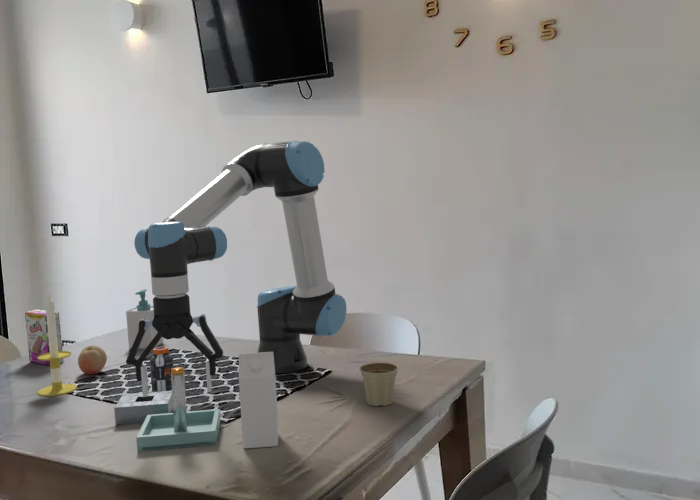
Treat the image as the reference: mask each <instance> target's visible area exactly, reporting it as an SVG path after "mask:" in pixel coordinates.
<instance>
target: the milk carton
mask: <svg viewBox="0 0 700 500" xmlns="http://www.w3.org/2000/svg"><path fill="white" fill-rule="evenodd" d="M276 383H277V382H276V374H275V364H274V354H273V352H261V353H257V352H248V353H245V352H244V353H239V354H238V387H239V388H238V389H239V402H240V418H241V420H240V422H241V433H242V435H241V437H242V447H243V449H254V448H255V449H256V448H267V447H268V448H270V447H278V446H279V433H280V432H279V417H278V415H279V413H278V402H277V401H278V398H277V397H278V396H277V384H276Z"/></svg>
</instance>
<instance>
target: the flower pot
mask: <svg viewBox="0 0 700 500" xmlns="http://www.w3.org/2000/svg"><path fill="white" fill-rule="evenodd" d="M399 368H400V367H399V365H397V364H395V363H390V362H371V363H365V364H363V365H361V366H360V367H358V369H359V371H360V372H361V376H362V379H363V384H364V385H363V386H364V390H365V397H366V402H367V405H370V406H374V407H379V406H383V407H385V406H389V405H392V404H393V402H394V395H395V394H394V393H395V385H396V376H397V374H398V371H399V370H400V369H399Z"/></svg>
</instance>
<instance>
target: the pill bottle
mask: <svg viewBox="0 0 700 500" xmlns="http://www.w3.org/2000/svg"><path fill="white" fill-rule="evenodd" d="M169 349H170V348H169V347H168V346H157V347H155V348H153V349H152V353H153V355H152V356H151V357H150V359H149V363H150V364H149V366H150V378H151V379H150V380H151V382H150V384H151V390H152V391H153V392H162V391H172V380H171V369H173V368H175V366H174V357H173V355H171V354H170V353H169V352H170V350H169Z"/></svg>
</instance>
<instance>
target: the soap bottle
mask: <svg viewBox="0 0 700 500" xmlns="http://www.w3.org/2000/svg"><path fill="white" fill-rule="evenodd" d="M146 292H147V289H141V290H140V291H138V292H137V291H135V292H134V294H135V295H136V296H137V295H139V298H140V300H138V304H137V305H136V307H133V308H131V309H128V310H126V311H125V314H126V315H125V317H126V327H127V329H126V330H127V336H128V337H127V340H128V349H129V350H131V348H132V346H133V343H134V341H135V338H136V336H137V334H138V331H139V322H140V320H141V319H143V318H145V319H146V320H153V319H154V308H153V305H152V306H151V304H150V303H149V302H148V300H147V299H145V298H146ZM157 333H158V332H157V330H156V329H155V328H154V327H153V325H151V326H150V328H149V329H148V330H146V332H145V334H144V336H143V339H142V341H141V344H140V346H139V348H138V350H145V349H146V348H147V346H148V345H149V344H150V342H151V341H152V340H153V338H154V337H155V336H156V334H157ZM162 344H164V338H163V337H161V339H160V340H159V341H158V343H157V344H156V345H155V347H154V348H156V347H160V345H162ZM154 348H153V349H154Z"/></svg>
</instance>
